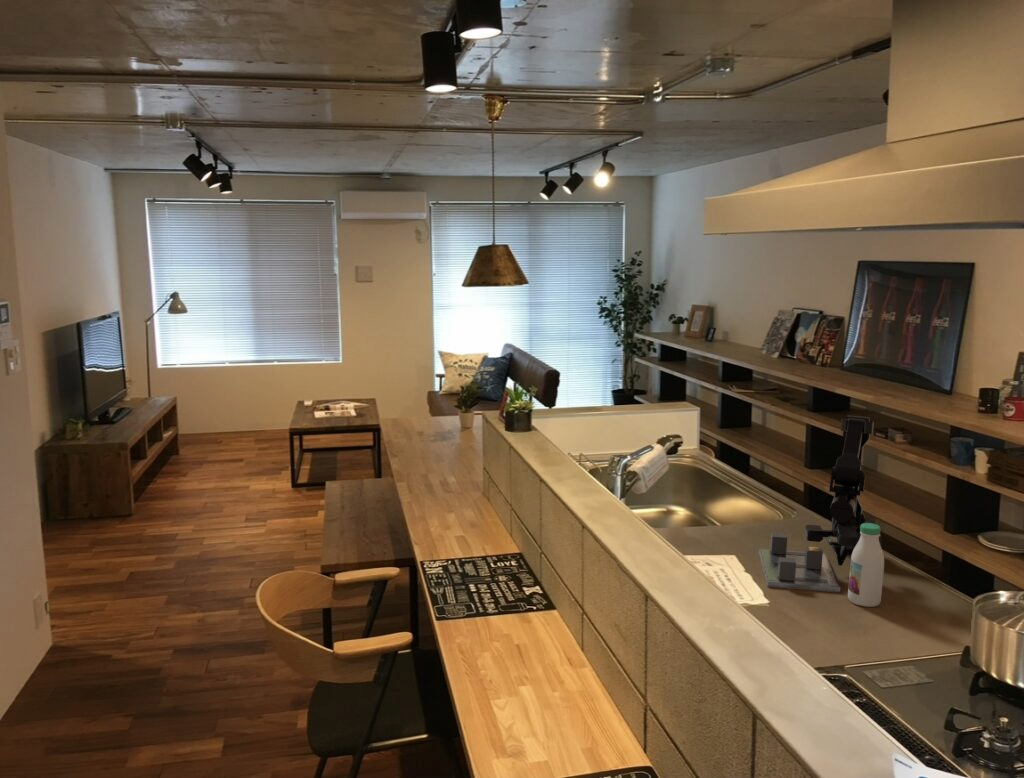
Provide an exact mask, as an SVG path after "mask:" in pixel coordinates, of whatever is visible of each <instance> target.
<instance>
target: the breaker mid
mask: <svg viewBox="0 0 1024 778" xmlns="http://www.w3.org/2000/svg"><path fill="white" fill-rule="evenodd" d="M804 548H805V551H804V552H805V562H804V564H805V567H806V568H808V569H822V557H823V553H824V551H823V549H822V547H818V546H817V547H816V546H805V547H804Z"/></svg>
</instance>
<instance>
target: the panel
mask: <svg viewBox="0 0 1024 778" xmlns="http://www.w3.org/2000/svg"><path fill="white" fill-rule="evenodd" d="M758 555H759V558H760V563H761V567H762V571H763V575H764V580H765V583H766V586H767V588H777V589H778V588H779V589H791V590H792V589H793V590H804V591H816V592H817V591H818V592H829V593H841V585H840V584H839V581H838V580H837V579H838V578H837V576H836V574H835V572H834V570H833V568H832V566H831V563H830V561H829V559H828V557H827V555H826V553H825V552H823V557H822V569H808V568H806V567H805V564H804V562H805V551H797V550H796V551H795V550H786V554H772V553H771V550H770V549H769V548H768V549H767V548H759V549H758ZM779 557H782V558H795V561H796V574H795V581H790V580H779V578H778V563H779Z"/></svg>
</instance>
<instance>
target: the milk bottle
mask: <svg viewBox="0 0 1024 778" xmlns="http://www.w3.org/2000/svg"><path fill="white" fill-rule="evenodd" d="M859 527H860V526H859ZM881 530H882V529H881V526H880V525H879V524H876V523H871V522H866V523H863V524H861V527H860V533H861V536H860V539H859V541H858V543H857V545H856V546H855V548H854V550H853V552H852V554H851V557H850V564H849V565H850V567H849V576H848V577H849V578H848V589H847V599H848V600H849V601H850V602H851V603H852V604H854V605H857V606H861V607H867V608H873V607H878V606H879V605H880V604H881V602H882V593H883V582H884V572H885V571H884V570H885V556H884V551H883V549H882V545H881V546H880V543H879V536H880V535H881Z"/></svg>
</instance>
